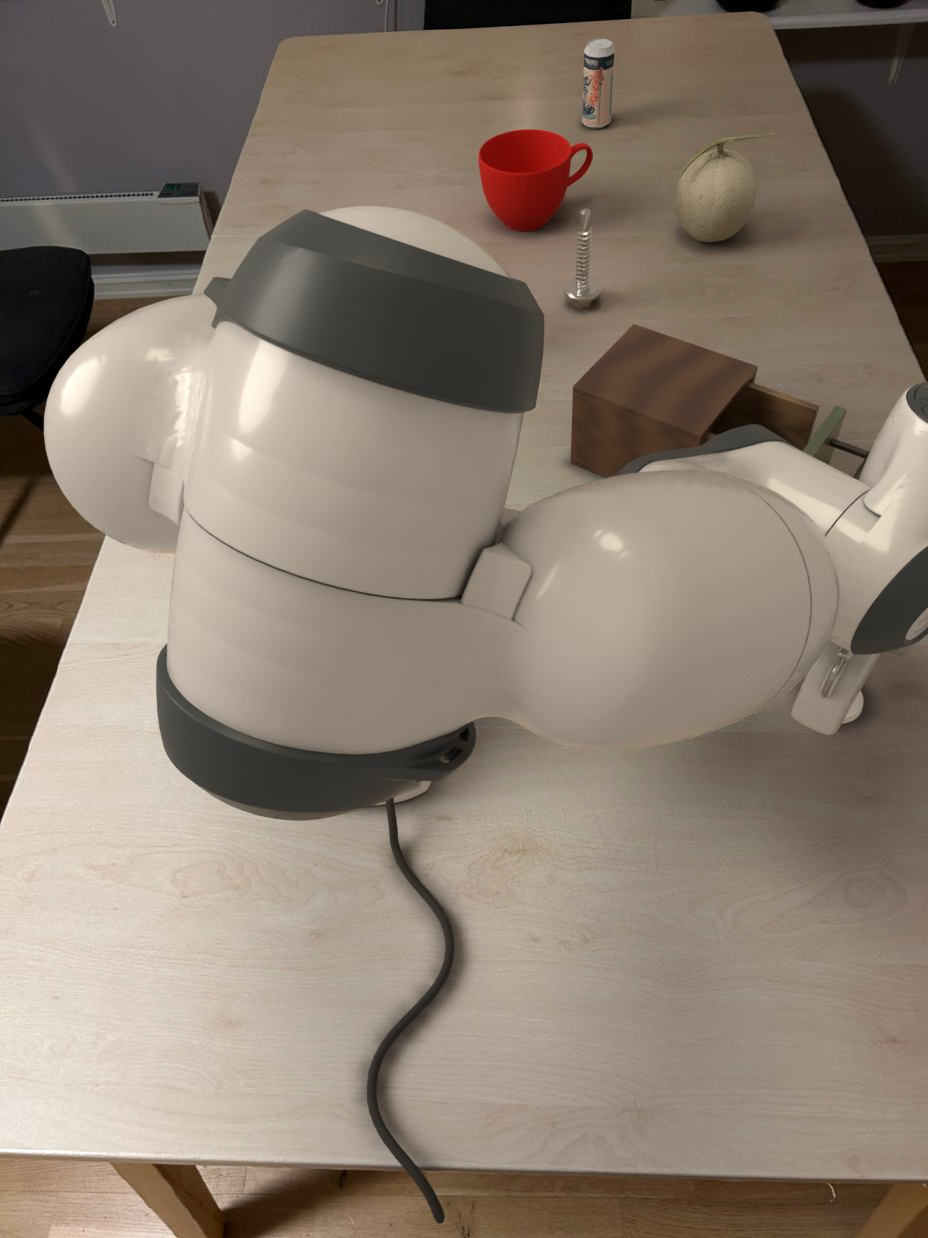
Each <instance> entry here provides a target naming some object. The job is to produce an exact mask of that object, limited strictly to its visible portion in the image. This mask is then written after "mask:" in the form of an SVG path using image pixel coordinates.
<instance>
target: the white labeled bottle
mask: <svg viewBox="0 0 928 1238" xmlns="http://www.w3.org/2000/svg"><path fill="white" fill-rule="evenodd" d="M615 51H616V49H615V45H614V44H613V41H611V40H609V39H607V38H594V39H591V40H589V41H588V42H587V44H586V46H585V48H584V50H583V73H582V75H583V79H582V81H583V82H582V110H581V111H582V112H581V123H582V124H583V125H584V126H585V127H587V128H589V129H594V130H595V129H596V130H597V129H602V128H605V127H606V126H607V125H609V124H610V123H611V122H612V105H613V104H612V103H613V86H614V85H613V83H614V66H615Z"/></svg>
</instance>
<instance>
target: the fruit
mask: <svg viewBox="0 0 928 1238" xmlns="http://www.w3.org/2000/svg"><path fill="white" fill-rule="evenodd" d="M775 135H776V133H775V132H769V133H768V132H767V133H759V134H746V135H745V134H744V135H736V136H735V135H734V136H727V137H720V138H719V139H717V140H714V141H713V142H711V143H710V144H709V145H707V146H706V147H704V148H703V149H702V150H700V151H699V152H697V153H696V154H695V155H694V156H693V157H692V158H691V159H690V160H689V161H688V162H687V163H686V165H684V166H683V169H682V170H681V171H680V173H679V174H678V175H679V177H680V178H679V181H678V184H677V186H676V190H675V200H674V205H675V212H676V217H677V220H678V223H679V224H680V226H681V228H682V229H683V230H684V232H686V233H687V235H689V236H690V237H691V238H692V239H694V240H696V241H698V242H703V243H716V242H721V241H725V240H727V239H729V238H731V237H733V236H734V235H736V233H738V232H739V231H740V230H742V228H743V227H744V226H745V224H746V223H747V221H748V220H749V217H750V216H751V214H752V212H753V209H754V206H755V202H756V196H757V181H756V175H755V172H754V168H753V167H752V165H751V163H750V161H749V160H748V158H746V157H745V156H743V155H742V154H740V153H739V152H737V151H735V150H733V149H727V148H724V146H725V145H726V144H729V143H733V142H737V141H745V140H753V139H761V138H767V137H773V136H775ZM714 147H716V149H712V148H714ZM711 149H712V150H711Z"/></svg>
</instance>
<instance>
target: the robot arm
mask: <svg viewBox="0 0 928 1238" xmlns="http://www.w3.org/2000/svg"><path fill="white" fill-rule="evenodd" d="M544 345H545V314H544V312H543V310H542V308H541V307H540V305H539V303H538V302H537V300H536V298H535V296H534V295H533V293H532V291H531V289H530V288H529V286H528V284H527V282H525V281H522V280H519V279H517V278H514V277H513V276H512V275H511V274H510V273H509V271H508V270H507V269H506V268H505V267H504V266H503V264H501V263H500V261H499V260H498V259H497V258H496V257H494V255H492V254H491V253H490V252H489V251H488V250H487V249H486V248H485V247H484V246H483V245H481V244H480V243H478V242H477V241H475V240H474V239H473V238H472V237H470V236H469V235H467V234H466V233H465V232H463V231H461V230H459V229H458V228H455V227H454V226H452V225H450V224H449V223H447V222H444V221H442V220H440V219H437V218H434V217H432V216H429V215H427V214H424V213H421V212H416V211H413V210H409V209H406V208H399V207H393V206H385V205H356V206H355V205H354V206H345V207H338V208H334V209H329V210H325V211H321V212H317V211H314V210H311V209H307V208H305V209H304V208H303V209H302V210H301V211H298V212H297V213H295V214H293V215H291V216H290V217H288V218H287V219H286V220H284V221H281V223H279V224H277V225H276V226H274V227H273V228H271V229H270V230H269V231H267V232H265V233H264V234H262V235H261V236H258V238H257V239H256V241H255V242H254V244H253V245H252V246H251V248H249V251H248V252H247V254H246V255H245V256H244V258H243V260H242V261H241V263H240V264H239V265H238V267H237V268H236V270H235V272H234V274H233V275H232V277H231V278H230V277H229V278H228V277H221V276H214V277H212V279H211V280H210V282H209V283H208V284H207V286H206V287H205V289H204V290H203V291H202V292H200V293H195V294H189V295H182V296H176V297H171V298H167V299H164V300H161V301H156V302H154V303H152V304H151V303H150V304H148V305H145V306H143V307H140V308H138V309H136V310H133V311H131V312H129V313H127V314H125V315H124V316H122V317H119V318H118V319H116V320H114V321H113V322H111V323H110V324H108V325H106V326H105V327H103V328H102V329H101V330H99V331H97V332H96V333H95V334H93V335H92V336H90V337H89V338H88V339H87V340H86V341H85V342H83V343H82V344H81V345H79V347H77V349H76V350H75V351H74V352H73V353H71V355H70V356H69V357H68V359H67V360H66V361H65V363H64V364H63V365H62V367H61V368H60V369H59V371H58V373H57V374H56V376H55V378H54V380H53V382H52V384H51V387H50V390H49V393H48V396H47V398H46V403H45V409H44V416H43V437H44V445H45V446H44V447H45V452H46V456H47V460H48V464H49V467H50V469H51V472H52V474H53V477H54V479H55V481H56V483H57V485H58V486H59V488H60V490H61V492H62V494H63V495H64V497H65V498H66V500H68V502H69V504H70V505H71V506H72V507H73V508H74V510H76V512H77V513H78V514H79V515H80V516H81V517H82V518H83V519H84V520H85V521H86V522H88V523H89V524H90V525H91V526H92V527H94V528H95V529H96V530H98V531H99V532H101V533H102V534H104V535H105V536H107V537H108V538H110V539H113V540H115V541H116V542H118V543H119V544H120V543H121V544H123V545H124V546H127V547H130V548H132V549H136V550H139V551H143V552H144V551H145V552H148V553H154V554H167V555H174V562H173V570H172V577H171V584H170V595H169V596H170V597H169V607H168V619H167V639H166V644H165V645H164V646H163V647H162V648H161V650H160V652H159V654H158V656H157V659H156V664H155V665H156V666H155V693H156V696H155V697H156V713H157V722H158V729H159V733H160V737H161V738H160V739H161V742H162V746H163V748H164V752H165V754H166V756H167V757H168V759H169V761H170V762H171V763H172V765H173V766H174V767H175V768H176V769H177V770H178V771H179V772H180V773H181V774H182V775H183V776H184V777H185V778H187V779H188V780H190V782H192V783H194V784H195V785H196V786H197V787H199V788H200V789H202V790H203V791H204V792H206V793H207V794H209V795H210V796H211V797H213V798H214V799H216V800H218V801H220V802H221V803H224V804H226V805H228V806H230V807H232V808H235V809H237V810H239V811H242V812H245V813H248V814H251V815H255V816H259V817H262V818H267V819H268V818H269V819H273V820H281V821H282V820H283V821H293V822H294V821H295V822H296V821H297V822H298V821H299V822H304V821H317V820H323V819H327V818H333V817H337V816H340V815H345V814H348V813H351V812H355V811H356V812H357V811H358V810H362V809H365V808H368V807H374V806H384V805H385V809H386V815H387V825H388V833H389V834H388V835H389V836H388V837H389V844H390V849H391V851H392V854H393V857H394V860H395V863H396V864H397V866H398V868H399V870H400V871H401V873H402V875H403V876H404V877H405V879H406V880H407V882H408V883H409V884H410V885H411V887H412V888H413V889H414V890H415V892H417V894H418V895H419V896H420V897H421V898H422V899H423V900H424V902H425V903H426V904H427V905H428V906H429V907H430V909H431V910H432V912H433V913H434V914H435V916H436V918H437V920H438V921H439V923H440V926H441V928H442V931H443V936H444V943H445V944H444V945H445V948H444V949H445V950H444V958H443V963H442V966H441V968H440V971H439V973H438V975H437V977H436V978H435V979H434V982H433V983H432V985H431V986H430V987H429V989H427V991H426V992H425V994H424V995H423V996H422V997H421V998H419V1000H418V1001H417V1002H416V1003H415V1004H414V1005H413V1007H411V1008H410V1009H409V1010H408V1011H407V1012H406V1013H405V1014H404V1015H403V1016H402V1017H401V1018H400V1019H399V1020H398V1021H397V1023H396V1024H395V1025H394V1026H393V1027H392V1028H391V1029H390V1030H389V1032H388V1033H387V1034H386V1035H385V1036H384V1038H383V1039H382V1040H381V1042H380V1044H379V1045H378V1047H377V1049H376V1051H375V1053H374V1055H373V1057H372V1059H371V1063H370V1066H369V1069H368V1073H367V1081H366V1103H367V1109H368V1112H369V1115H370V1118H371V1121H372V1124H373V1126H374V1128H375V1130H376V1132H377V1134H378V1136H379V1137H380V1139H381V1141H382V1142H383V1144H384V1146H386V1148H387V1149H388V1150H389V1152H390V1153H391V1155H393V1158H395V1159H396V1161H397V1162H398V1163H399V1164H400V1165H401V1167H402V1168H403V1169H404V1170H405V1172H406V1173H407V1174H408V1175H409V1176H410V1178H411V1179H412V1180H413V1182H414V1183H415V1184H416V1186H417V1187H418V1189H419V1190H420V1192H421V1193H422V1195H423V1196H424V1198H425V1200H426V1203H427V1204H428V1207H429V1208H430V1211H431V1214H432V1216H433V1218H434V1221H435V1222H436V1223H437V1224H443V1223H444V1221H445V1218H446V1215H445V1212H444V1210H443V1207H442V1204H441V1202H440V1200H439V1197H438V1196H437V1194H436V1192H435V1190H434V1188H433V1187H432V1185H431V1184H430V1182H429V1180H428V1179H427V1177H426V1176H425V1175H424V1173H423V1172H422V1171H421V1169H420V1168H419V1167H418V1165H417V1164H416V1163H415V1162H414V1161H413V1159H412V1158H411V1157H410V1156H409V1155H408V1154H407V1152H406V1151H405V1150H404V1149H403V1148H402V1147H401V1145H400V1144H399V1143H398V1141H397V1139H395V1137H394V1136H393V1135H392V1133H391V1132H390V1129H388V1127H387V1126H386V1123H385V1121H384V1119H383V1117H382V1113H381V1111H380V1108H379V1102H378V1092H377V1087H378V1079H379V1072H380V1069H381V1066H382V1063H383V1061H384V1059H385V1057H386V1055H387V1053H388V1051H389V1050H390V1049H391V1047H392V1045H393V1044H394V1043H395V1041H396V1040H397V1039H398V1038H399V1037H400V1035H401V1034H402V1033H403V1032H404V1031H405V1030H406V1029H407V1028H408V1027H409V1026H410V1025H411V1024H412V1023H413V1022H414V1021H415V1020H416V1019H417V1018H418V1017H419V1016H420V1015H421V1014H422V1012H423V1011H424V1010H425V1009H426V1008H427V1007H428V1006H429V1005H430V1004H431V1003H432V1002H433V1001H434V999H435V998H436V997H437V996H438V994H439V993H440V992H441V990H442V989H443V987H444V985H445V983H446V982H447V980H448V978H449V976H450V973H451V970H452V967H453V964H454V958H455V957H454V956H455V937H454V933H453V928H452V924H451V921H450V918H449V917H448V915H447V913H446V911H445V910H444V908H443V907H442V906H441V904H440V903H439V902H438V900H437V899H436V898H435V897H434V896H433V895H432V893H431V892H430V891H429V890H428V889H427V888H426V886H424V884H423V883H422V882H421V881H420V880H419V879H418V877H417V876H416V875H415V873H414V872H413V871H412V869H411V867H410V866H409V865H408V863H407V860H406V858H405V857H404V854H403V852H402V850H401V846H400V842H399V831H398V829H399V828H398V820H397V812H396V805H395V804H396V803H397V804H398V803H400V802H401V803H402V802H404V801H407V800H410V799H413V798H416V797H418V796H419V795H422V794H423V793H425V792H427V791H428V790H429V788H431V787H430V786H431V784H432V783H433V782H438V781H442V780H445V779H448V778H449V777H450V776H452V774H454V773H455V772H456V771H457V770H458V769H460V768H461V767H462V766H463V764H465V763H466V762H467V761H468V760H469V758H470V757H471V755H472V753H473V752H474V749H475V747H476V742H477V730H476V725H475V723H474V721H476V720H478V719H482V718H494V717H495V718H502V719H504V720H505V719H506V720H509V721H510V722H513V723H515V724H517V725H519V726H521V727H522V728H524V729H525V730H527V731H529V732H531V733H533V734H535V736H538V737H540V738H542V739H545V740H546V741H548V742H550V743H554V744H556V745H560V746H563V747H568V748H573V749H574V748H575V749H580V750H588V751H606V750H608V751H609V750H632V749H642V748H651V747H657V746H662V745H667V744H673V743H678V742H681V741H687V740H691V739H693V738H696V737H700V736H704V735H706V734H707V735H708V734H709V733H713V732H715V731H718V730H720V729H724V728H726V727H728V726H731V725H733V724H735V723H738V722H740V721H742V720H744V719H746V718H748V717H750V716H752V715H755V714H757V713H759V712H761V711H763V710H765V709H766V708H768V707H770V706H772V705H773V704H775V703H776V702H778V701H779V700H781V699H782V698H784V697H785V696H786V695H787V694H788V693H789V692H790V691H791V690H793V689H794V688H795V687H796V685H797V684H799V683H800V682H801V681H802V680H803V682H802V684H801V686H800V689H799V691H798V693H797V695H796V698H795V700H794V703H793V704H792V708H791V717H792V718H793V719H794V720H795V721H797V722H798V723H800V724H801V725H802V726H805V727H807V728H809V729H810V730H813V731H814V732H817V733H820V734H822V735H825V736H833V735H834V734H836V733H837V732H838V731H839V729H840V728H841V726H842V724H843V723H842V722H843V721H844V719H845V717H846V715H847V713H848V712H849V710H850V708H851V706H852V704H853V703H854V701H855V699H856V697H857V695H858V694H859V692H860V691H861V690H862V688H863V686H864V684H865V683H866V681H867V680H868V677H869V675H870V673H872V671H873V668H874V667H875V665H876V663H877V661H878V659H879V658H880V655H881V654H882V653H887V652H892V651H896V650H898V649H899V650H900V649H903V648H907V647H909V646H913V645H915V644H917V643H919V642H920V641H921V640H922V639H924V638H925V637H926V636H927V635H928V381H922V382H918V383H915V384H913V385H910V386H909V387H908V388H906V389H905V390H904V391H903V392H902V394H901V396H900V397H899V398H898V400H897V401H896V402H895V404H894V406H893V408H892V410H891V411H890V413H889V414H888V415H887V418H886V420H885V421H884V423H883V425H882V426H881V429H880V431H879V433H878V435H877V436H876V439H875V441H874V443H873V445H872V447H871V448H870V450H871V451H870V450H869V451H870V453H869V455H868V458H867V460H866V463H865V465H864V467H863V470H862V472H861V475H860V477H859V480H857V479H855V478H853V476H851V475H849V474H847V473H845V472H843V471H841V470H839V469H837V468H835V467H834V466H832V465H830V464H829V465H828V464H826V463H824V462H822V461H820V460H818V459H816V458H814V457H812V456H810V455H808V454H806V453H805V452H803V451H801V450H799V449H797V448H796V447H795V446H794V445H792V444H791V443H789V442H788V441H786V440H784V439H783V438H781V437H779V436H778V435H776V434H775V433H773V432H771V431H770V430H768V429H766V428H765V427H763V426H761V425H757V424H751V425H746V426H742V427H738V428H734V429H731V430H728V431H726V432H723V433H721V434H719V435H717V436H715V437H713V438H711V439H710V440H709V441H707V442H706V443H705V444H703V445H701V446H697V447H690V448H683V449H675V450H668V451H661V452H655V453H651V454H647V455H644V456H641V457H639V458H637V459H635V460H633V461H631V462H630V463H628V464H627V465H626V466H625V467H623V468H622V469H621V470H620V471H619V472H618V473H617V474H616V475H615V476H613V477H608V478H605V477H603V478H600V479H596V480H593V481H589V482H586V483H583V484H579V485H576V486H572V487H570V488H567V489H565V490H562V491H559V492H556V493H554V494H551V495H549V496H546V497H543V498H541V499H539V500H538V501H535V502H534V503H532V504H529V505H528V506H526V507H525V508H523V509H522V510H518V509H513V508H509V507H506V503H507V498H508V494H509V490H510V485H511V481H512V476H513V471H514V468H515V463H516V458H517V453H518V450H519V449H518V448H519V442H520V437H521V432H522V426H523V421H524V415H525V413H526V412H531V411H533V410H534V409H535V408H536V407H537V401H538V395H539V388H540V383H541V377H542V376H541V375H542V367H543V360H544V359H543V358H544ZM803 678H804V679H803ZM444 761H447V762H444Z"/></svg>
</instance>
